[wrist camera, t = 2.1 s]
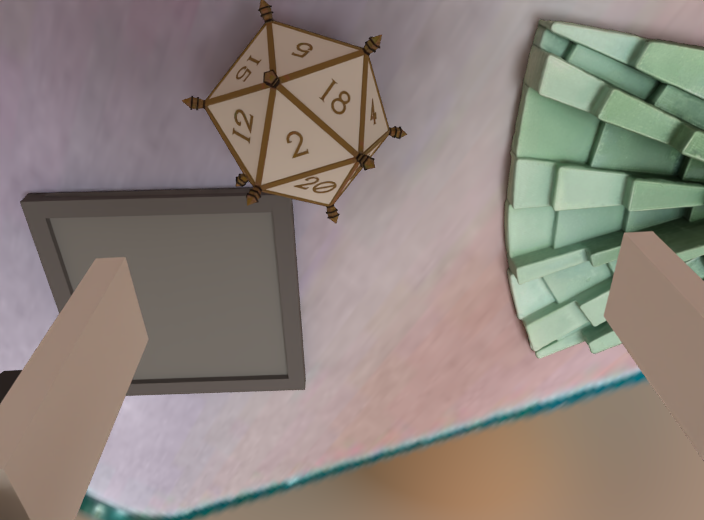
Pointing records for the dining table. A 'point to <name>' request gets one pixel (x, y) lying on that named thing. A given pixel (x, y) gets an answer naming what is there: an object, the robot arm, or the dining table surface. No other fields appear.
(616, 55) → the green curved brick section
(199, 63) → the dining table surface
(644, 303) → the robot arm
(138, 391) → the mat
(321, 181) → the game die
